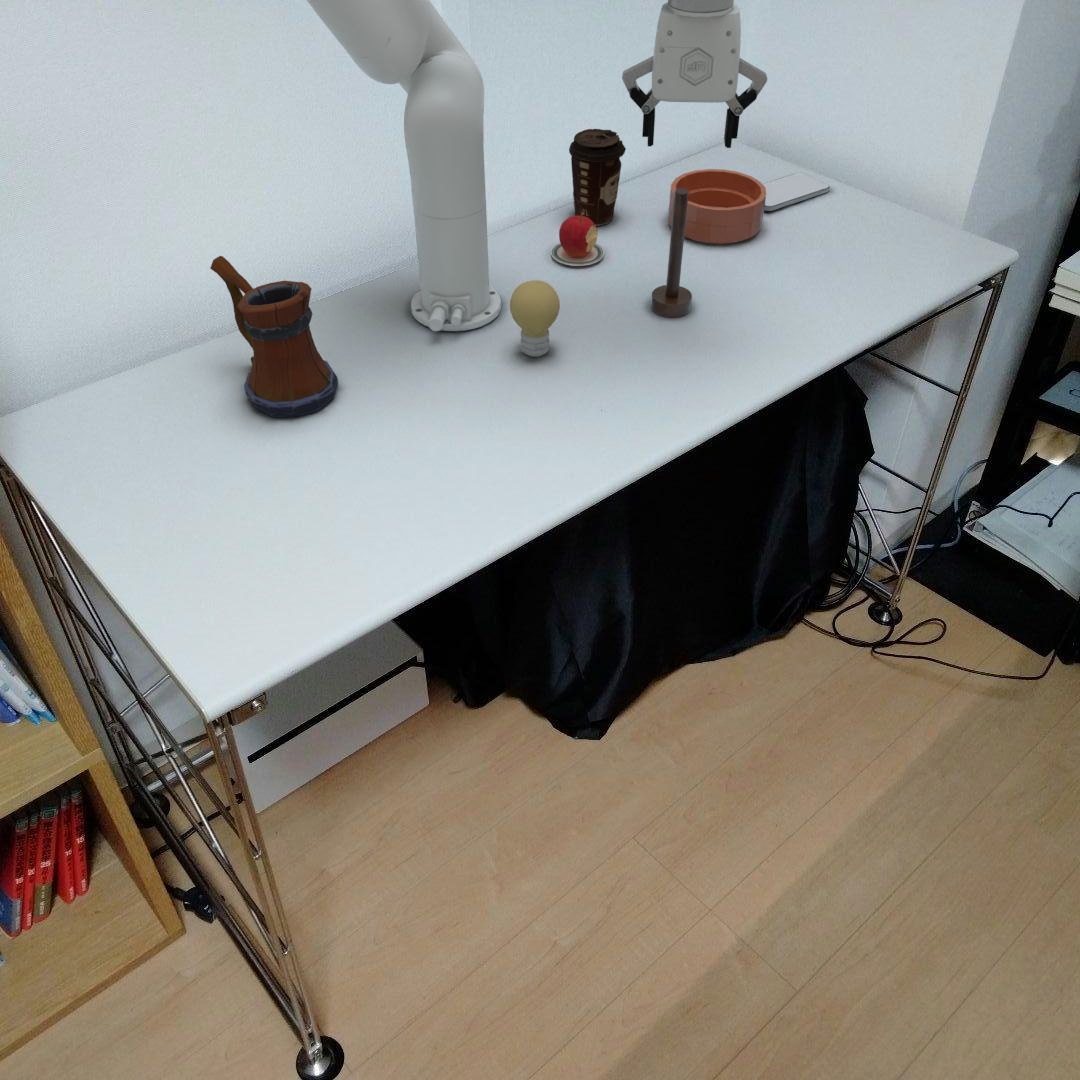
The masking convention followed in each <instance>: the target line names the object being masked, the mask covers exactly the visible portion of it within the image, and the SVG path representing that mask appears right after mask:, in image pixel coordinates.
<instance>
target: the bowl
mask: <svg viewBox="0 0 1080 1080" xmlns="http://www.w3.org/2000/svg"><path fill="white" fill-rule="evenodd" d="M763 184H764V183H762V181H760V180H758V179H757V178H755V177H753V176H752V175H749V174H746V173H742V172H740V171H736V170H729V169H723V168H722V169H719V168H705V169H698V170H693V171H689V172H684V173H682V174H681V175H679V176H676V177H675V179H674V180H673V181H672V182H671V184H670V192H669V204H668V215H667V223H668V225H669V226H670V228H672V217H673V206H674V195H675V190H676V189H680V188H682V189H687V190H688V191H689V194H688V204H687V214H686V224H685V234H684V238H688V239H690V240H693V241H696V242H700V243H705V244H712V245H715V244H716V245H723V244H724V245H725V244H732V243H738V242H742V241H745V240H748V239H751V238H753V237H754V236H755V235H756V234H759V232H760V230H761V228H762V226H763V220H764V213H765V210H764V207H765V201H766V188H765V186H764V185H763Z"/></svg>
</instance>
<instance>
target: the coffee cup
mask: <svg viewBox="0 0 1080 1080" xmlns="http://www.w3.org/2000/svg"><path fill="white" fill-rule="evenodd" d="M626 150H627V148H626V147H625V145H624V144H623V140H621V138H620V136H619V134H618V132H616V131H612V130H611V129H601V128H587V129H583V130H582V131H579V132H577V133H575V135H574V137H573V141H572V142H570V145H569V148H568V152H569V154H570V156H571V158H570V163H571V164H570V165H571V176H572V196H573V197H572V198H573V209H574V215H573V216H581V215H582V212H584V214H583V215H582V216H585V217H587V218H589V219H590V220H591V221H592V222H593V223H594V224H595V226H596V227H598V226H603V225H607V224H609V223H611V221H612V220H613V219H614V217H615V216H614V215H615V206H616V202H617V197H618V191H619V185H620V178H621V171H622V170H621V169H622V160H621V159H620V158H621V157H623V156H624V155H625V153H626Z"/></svg>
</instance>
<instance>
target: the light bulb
mask: <svg viewBox="0 0 1080 1080" xmlns="http://www.w3.org/2000/svg"><path fill="white" fill-rule="evenodd" d="M510 296H511V297H510V300H509V310H510V314H511V317H512V319H513V320H514V322H515V323H516V325H518V327H519V328H520V350H521V351H522V353H523V354H524V355H527V356H528V357H533V358H537V357H541V356H544V355H545V354H547V353H548V351H549V350H550V328H551V326H553V324H554V323H555V322H556V320H557V318H558V316H559V313H560V310H561V309H560V308H561V303H560V298H559V294H558V293H557V291H556V290H555V288H554V287H553V286H552V285H550V283H548V282H546V281H543V280H539V279H537V280H536V279H533V280H526V281H525V282H521V283H520V284H518V285H517V286H516V287H515V288H514V290H513V292H512V293H511V295H510Z"/></svg>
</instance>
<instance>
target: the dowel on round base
mask: <svg viewBox="0 0 1080 1080" xmlns="http://www.w3.org/2000/svg"><path fill="white" fill-rule="evenodd" d="M688 194H689V191H688V190H687V189H682V188H680V189H676V190H675V195H674V206H673V217H672V227H670V228H671V230H670V240H669V251H668V262H667V273H666V284H664V285H660V286H657V287H655V288H654V289H653V290H652V292H651V297H650V298H651V299H650V309H651V311H652V312H653V313H654V314H656V315H658V316H661V317H664V318H671V319H672V318H673V319H674V318H680V317H681V318H682V317H685V316H686V315H688V314H689V313H690V312H691V310H692V301H693V294H692V292H691V291H690V290H689V289H687V288H686V287H684V286H681V285H680V283H681V273H682V263H683V253H684V244H685V243H684V242H685V236H684V234H685V224H686V214H687V204H688Z"/></svg>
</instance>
